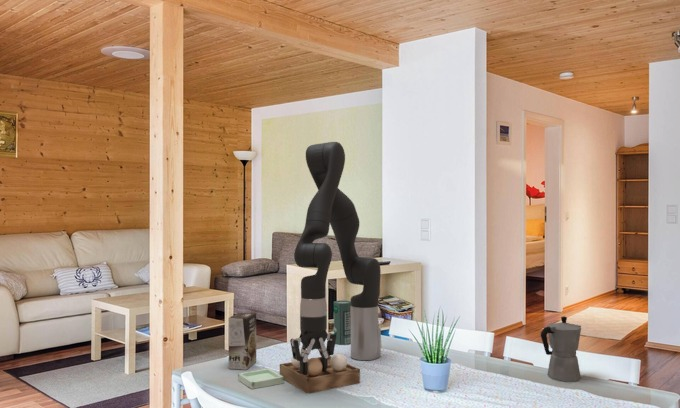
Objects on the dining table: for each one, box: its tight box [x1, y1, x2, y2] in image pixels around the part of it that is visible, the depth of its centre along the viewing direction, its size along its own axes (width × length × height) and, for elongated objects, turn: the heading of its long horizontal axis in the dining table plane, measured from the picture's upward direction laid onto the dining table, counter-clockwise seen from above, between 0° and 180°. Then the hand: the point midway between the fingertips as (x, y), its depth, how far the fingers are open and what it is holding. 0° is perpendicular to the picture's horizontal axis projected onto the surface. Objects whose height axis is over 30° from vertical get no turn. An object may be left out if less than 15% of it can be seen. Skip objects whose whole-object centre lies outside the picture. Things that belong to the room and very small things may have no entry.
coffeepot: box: [540, 315, 582, 383], centre depth 176 cm, size 15×9×18 cm, turn 116°
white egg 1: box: [290, 350, 309, 369], centre depth 176 cm, size 5×5×5 cm
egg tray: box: [279, 355, 361, 394], centre depth 175 cm, size 17×17×4 cm
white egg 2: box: [330, 353, 348, 371], centre depth 173 cm, size 5×5×5 cm
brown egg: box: [307, 357, 323, 376], centre depth 169 cm, size 5×5×5 cm
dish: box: [237, 368, 285, 390], centre depth 173 cm, size 10×10×2 cm
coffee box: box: [227, 312, 257, 371], centre depth 190 cm, size 9×6×16 cm
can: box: [333, 299, 351, 346], centre depth 218 cm, size 6×6×15 cm
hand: (313, 372), depth 169 cm, fingers open, 5 cm apart
